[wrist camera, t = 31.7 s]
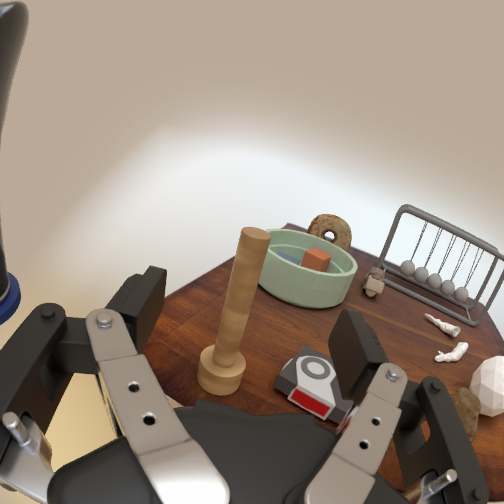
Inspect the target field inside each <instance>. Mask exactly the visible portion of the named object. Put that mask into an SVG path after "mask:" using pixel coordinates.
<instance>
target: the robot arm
mask: <svg viewBox="0 0 504 504" xmlns="http://www.w3.org/2000/svg"><path fill="white" fill-rule="evenodd" d="M28 24H29V11H28V8H27V6H26V4H25V3H23V2H21V1H11V2H4V3H0V145H1V135H2V129H3V125H4V121H5V117H6V112H7V106H8V101H9V95H10V91H11V87H12V82H13V79H14V75H15V72H16V68H17V65H18V62H19V58H20V55H21V52H22V49H23V45H24V42H25V37H26V34H27V29H28ZM166 277H167V270H166V269H162V268H158V267H154V266H149V268H148V269H147V270H146V272H145V273H144V274H143V275H140V274H135V275H133V276H131V277H129V278H127V280H126V281H125V282H124V283H123V286H121V287H120V289H119V290H118V292H117V293H116V294H115V295H114V296H113V298H112V299H111V300H110V302H109V303H108V304H107V306H106V307H105V308H104V309H97V310H94V311H92V312H90V313H89V314H88V315H87V317H86V318H73V317H66V315H65V310H64V309H63V307H61V306H60V305H58V304H55V303H44V304H41V305H39V306H37V307H36V308H35V309H34V310H33V311H32V312H31V313H30V315H29V316H28V317H27V318H26V319H25V320H24V321H23V323H22V324H21V325H20V326H19V327H18V329H17V330H16V331H15V332H14V334H13V335H12V336H11V338H10V339H9V340H8V341H7V343H6V344H5V345H4V347H3V348H2V349H1V350H0V485H1V486H2V487H3V488H5V489H7V490H9V491H19V492H20V493H22V494H24V495H26V496H28V497H29V498H31V499H33V500H35V501H37V502H39V503H41V504H487V503H488V499H489V492H488V489H487V485H486V482H485V479H484V476H483V473H482V471H481V468H480V465H479V462H478V460H477V457H476V454H475V452H474V449H473V447H472V444H471V442H470V439H469V437H468V434H467V432H466V430H465V427H464V425H463V423H462V420H461V418H460V416H459V414H458V411H457V409H456V407H455V405H454V403H453V401H452V399H451V396H450V394H449V392H448V390H447V388H446V386H445V385H444V384H443V383H442V382H441V381H440V380H439V379H437V378H435V377H432V376H428V377H425V378H424V379H423V381H422V382H421V383H420V384H418V383H415V382H412V381H408V380H407V375H406V374H405V372H404V371H403V370H402V369H401V368H400V367H398V366H397V365H395V364H392V363H389V361H388V358H387V356H386V354H385V352H384V350H383V348H382V346H381V345H380V342H379V340H378V339H377V338H378V337H377V335H376V333H375V331H374V330H373V329H372V328H371V327H370V326H369V325H368V324H367V323H365V321H364V319H363V317H362V315H361V313H360V312H359V311H355V310H350V309H343V310H342V311H341V313H340V315H339V318H338V320H337V322H336V324H335V326H334V328H333V330H332V332H331V334H330V337H329V342H328V346H329V350H330V354H331V358H332V361H333V365H334V369H335V373H336V376H337V380H338V384H339V388H340V392H341V396H342V400H353V405H352V406H351V407H350V408H349V410H348V412H347V413H346V415H345V416H344V418H343V419H342V421H341V422H340V424H339V425H338V427H337V428H336V430H335V431H334V432H332V431H331V430H329V429H327V428H325V427H323V426H320V425H318V424H315V419H314V415H305V414H293V413H281V414H271V415H253V414H250V413H248V412H245V411H242V410H239V409H237V408H234V407H232V406H229V405H226V404H222V403H216V402H211V401H207V400H202V399H197V398H196V400H195V404H194V406H187V407H178V408H174V409H173V408H172V407H171V405H170V403H169V401H168V399H167V397H166V396H165V394H164V392H163V390H162V388H161V386H160V385H159V383H158V381H157V379H156V377H155V375H154V373H153V371H152V369H151V367H150V365H149V363H148V361H147V359H146V357H145V356H144V354H142V352H143V350H144V347H145V345H146V343H147V341H148V339H149V337H150V335H151V332H152V330H153V328H154V326H155V324H156V322H157V320H158V318H159V316H160V314H161V311H162V308H163V304H164V297H165V286H166ZM10 290H11V286H10V281H9V277H8V274H7V268H6V263H5V254H4V247H3V239H2V229H1V217H0V306H1V305H2V304H3V303H4V302H5V300H6V299H7V298H8V296H9V294H10ZM74 373H83V374H94V375H95V378H96V382H97V385H98V387H99V391H100V394H101V396H102V400H103V403H104V405H105V408H106V411H107V414H108V417H109V420H110V423H111V426H112V429H113V431H114V434H115V436H116V439H114V440H113V441H111V442H109V443H107V444H105V445H103V446H102V447H100V448H98V449H96V450H94V451H92V452H90V453H88V454H86V455H84V456H82V457H80V458H78V459H76V460H74V461H72V462H70V463H68V464H66V465H64V466H62V467H61V468H60V469H58V470H57V471H56V472H53V471H52V468H51V457H52V449H51V446H50V444H49V442H48V441H47V439H46V438H45V433H46V431H47V429H48V427H49V424H50V422H51V420H52V418H53V415H54V413H55V411H56V409H57V406H58V405H59V403H60V401H61V398H62V396H63V394H64V392H65V390H66V388H67V386H68V384H69V382H70V380H71V378H72V376H73V374H74ZM426 419H427V422H428V425H429V427H430V437H429V439H428V440H427V442H426V441H425V438H424V435H423V432H422V429H421V426H420V425H421V424H422V423H423V422H424V421H425V420H426ZM392 436H393V440H394V444H395V448H396V452H397V456H398V460H399V464H400V469H401V473H402V477H403V482H404V487H405V492H404V495H402V494H401V493H400V492H399V491H398V490H397V489H395V488H394V487H393V486H392V485H391V484H390V483H389V482H388V481H386V480H385V479H384V478H383V477H382V476H381V475H380V474H379V473H377V472H376V471H377V469H378V467H379V465H380V463H381V461H382V458H383V456H384V454H385V452H386V450H387V447H388V445H389V443H390V440H391V438H392Z"/></svg>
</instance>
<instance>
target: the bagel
mask: <svg viewBox="0 0 504 504" xmlns="http://www.w3.org/2000/svg"><path fill="white" fill-rule="evenodd" d="M328 231H330V232H332V233H333V234H334V236H335V237H334V239H333V240H332V241H329V242H331V243H333V244H334V245H336V246H338V247H340V248H341V249H343V250H344V251H346V252H347V251H348V250H349V248H350V245H351V239H352V236H351V230H350V227H349V225H348V224H347V223H346V222H345V221H344V220H343V219H341V218H340V217H338V216H335V215H330V214H322V215H319V216H317V217H316V218H314V219H313V221H312V222H311V224H310V226H309V228H308V231H307V234H310V235H314V236H317V237H319V238H322V239H324V240H326V239H325V237H324V235H325V233H326V232H328ZM326 241H327V240H326Z"/></svg>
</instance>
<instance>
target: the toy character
mask: <svg viewBox="0 0 504 504" xmlns="http://www.w3.org/2000/svg"><path fill="white" fill-rule="evenodd" d="M367 272H368V273H367V274H366V275H365V277H364V281H366V283H365V285H364V286H363V287H362V288H364V289H366V294H367V295H368V296H370V297H372V296H374V295H375V294H381V292H382V290H383V287H384V284H385V283H383V280H384V277H385V273H384V271H383V270H381V269H379V268H376V267H373V266H372V267H371V268H369V269H368V271H367Z"/></svg>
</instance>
